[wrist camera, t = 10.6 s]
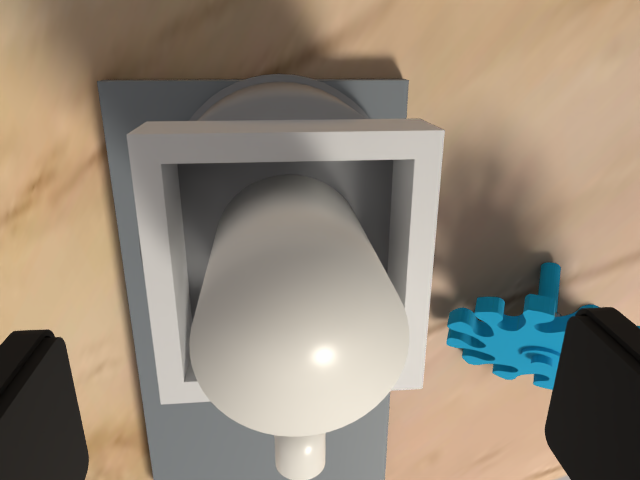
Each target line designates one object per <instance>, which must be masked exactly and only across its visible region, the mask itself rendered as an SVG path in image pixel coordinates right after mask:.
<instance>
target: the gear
mask: <svg viewBox="0 0 640 480" xmlns="http://www.w3.org/2000/svg"><path fill="white" fill-rule="evenodd" d="M560 271H561V267H560V266H559V265H558V264H556V263H551V262H548V263H543V264H542V265H541V272H540V281H539V290H538V295H535V294H528V295H527V296H526V297H525V302H524V310H523V313H522V314H521V315H519V316H508V315H504V306H505V301H504V300H503V299H501V298H500V297H478V298H477V302H476V307H475V313H474V312H473V311H471V310H469V309H467V308H457V309H455V310H453V311H451V312H450V314H449V319H448V324H447V326H448V328H449V332H448V338H447V345H449V346H451V347H455V348H463V354H462V357H463V359H464V360H465V361H466V362H467V363H469V364H473V365H481V364H493V372H492V373H494V374H495V375H497V376H499V377H502V378H504V379H507V380H512V379H515V378H516V377H517V376H519V375H524V374H534V382H533V384H534V385H536V386H539V387H543V388H547V389H552V390H553V387H554V382H555V377H556V372H557V368H558V363H559V358H560V353H561V349H562V344H563V339H564V334H565V329H566V325H567V322H568V320H569V318H570V317H572V316H575V314H576V312H577V311H578V310H580V309H581V308H600V307H598V306H596V305H584V306H582V307H580V308H579V309H578V310H577V311H576V312H574V313H572V314H569V315H566V316H561V315H560V314H559V313H557V307H558V295H559V283H560ZM475 316H476V317H477V318H478V319H480V320H482V321H484V322H481V321H479V320H477V319H476V317H475ZM637 327H639V328H640V326H637Z"/></svg>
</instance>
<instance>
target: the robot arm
mask: <svg viewBox="0 0 640 480" xmlns="http://www.w3.org/2000/svg"><path fill="white" fill-rule="evenodd" d="M545 436H546V440H547V443H548V445H549V447H550V449H551V451H552V452H553V454H554V455H555V457H556V458H557V460H558V461H559V463H560V464H561V466H562V467H563V469H564V470H565V472H566V473H567V475H568V476H569V477H570V479H571V480H640V328H639V327H637V326H636V325H635V324H634V323H632V322H631V321H630V320H629V319H627V318H626V317H625V316H624V315H623V314H621V313H620V312H619V311H618V310H616V309H614V308H612V307H602V308H581V309H580V310H578V311H577V312H576V314H575V316H572V317H570V318H569V320H568V322H567V325H566V329H565V334H564V339H563V344H562V349H561V353H560V358H559V363H558V368H557V372H556V377H555V382H554V387H553V391H552V396H551V401H550V406H549V410H548V415H547V420H546V425H545ZM88 463H89V456H88V450H87V445H86V440H85V435H84V431H83V426H82V421H81V416H80V411H79V407H78V402H77V397H76V392H75V388H74V383H73V378H72V373H71V368H70V364H69V359H68V354H67V349H66V345H65V342H64V340H63V338H61V337H55V336H54V334H53V332H52V331H50V330H25V331H13V332H12V333H11V334H10V335H9V336H8V337H7V338H6V339H5V341H4V342H3V343H2V344H1V345H0V480H85V477H86V474H87V470H88Z"/></svg>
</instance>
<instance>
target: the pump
mask: <svg viewBox="0 0 640 480" xmlns="http://www.w3.org/2000/svg"><path fill="white" fill-rule="evenodd" d="M189 347H190V359H191V364H192V368H193V371H194V374H195V377H196V379H197V381H198V383H199V385H200V387H201V389H202V390H203V392H204V393H205V395H206V396H207V397H208V399H209V400H210V401H211V402H212V403H213V404H214V405H215V406H216V407H217V408H218V409H219V410H220V411H221V412H223V413H224V414H225V415H226V416H227V417H229V418H231V419H232V420H234V421H236V422H237V423H239V424H241V425H243V426H245V427H248V428H250V429H253V430H256V431H259V432H262V433H266V434H271V435H274V437H275V463H276V468H277V470H278V472H279V473H280V474H281V475H282V476H284V477H285V478H288V479H290V480H309V479H312V478H314V477H316V476H317V475H319V474H320V473H321V472H322V470H323V469H324V466H325V436H326V432H330V431H333V430H336V429H339V428H342V427H344V426H346V425H348V424H350V423H353V422H354V421H356V420H358V419H359V418H361V417H363V416H364V415H366V414H367V413H368V412H370V411H371V410H372V409H374V408H375V407H376V406H377V405H378V404H379V403H380V402H381V401H382V400H383V399H384V398H385V397H386V396H387V394H388V393H389V392H390V391H391V389H392V388H393V387H394V385H395V383H396V382H397V380H398V378H399V377H400V374H401V372H402V370H403V368H404V365H405V361H406V358H407V355H408V348H409V325H408V319H407V315H406V312H405V309H404V306H403V304H402V302H401V299H400V297H399V295H398V293H397V292H396V290H395V288H394V286H393V284H392V282H391V280H390V279H389V277H388V275H387V273H386V271H385V269H384V267H383V265H382V264H381V262H380V260H379V258H378V256H377V254H376V252H375V251H374V249H373V247H372V245H371V243H370V241H369V239H368V238H367V236H366V234H365V232H364V230H363V228H362V226H361V225H360V223H359V221H358V219H357V217H356V215H355V213H354V211H353V210H352V208H351V207H350V205H349V204H348V202H347V201H346V200H345V199H344V198H343V196H342V195H341V194H339V193H338V192H337V191H336V190H335V189H334V188H332V187H330V186H329V185H327V184H326V183H323V182H321V181H319V180H317V179H314V178H311V177H307V176H302V175H290V174H287V175H277V176H272V177H268V178H265V179H262V180H259V181H257V182H255V183H253V184H251V185H249V186H248V187H246V188H245V189H244V190H242V191H241V192H240V193H239V194H238V195H236V196H235V197H234V198H233V200H232V201H231V202H230V203H229V204H228V206H227V207H226V209H225V211H224V212H223V214H222V216H221V219H220V221H219V224H218V227H217V231H216V235H215V239H214V243H213V246H212V250H211V254H210V258H209V262H208V265H207V269H206V273H205V277H204V281H203V285H202V288H201V292H200V296H199V300H198V304H197V308H196V311H195V315H194V319H193V323H192V327H191V333H190V340H189Z"/></svg>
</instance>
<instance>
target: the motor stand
mask: <svg viewBox="0 0 640 480" xmlns="http://www.w3.org/2000/svg"><path fill="white" fill-rule="evenodd" d="M408 84H409V80H406V79H311V78H308V77H303V76H298V75H291V74H268V75H261V76H256V77H251V78H247V79H228V80H101V81H97V85H98V92H99V99H100V106H101V113H102V120H103V127H104V134H105V141H106V148H107V155H108V162H109V169H110V176H111V183H112V190H113V197H114V204H115V211H116V219H117V226H118V233H119V240H120V247H121V254H122V261H123V268H124V275H125V282H126V289H127V296H128V303H129V310H130V317H131V324H132V331H133V338H134V345H135V352H136V359H137V366H138V373H139V380H140V387H141V395H142V402H143V409H144V416H145V423H146V430H147V437H148V444H149V451H150V458H151V465H152V472H153V479H154V480H290V479H288V478H285V477H284V476H282V475H281V474H280V473H279V472H278V470H277V468H276V463H275V437H274V435H271V434H266V433H262V432H259V431H256V430H253V429H250V428H248V427H245V426H243V425H241V424H239V423H237V422H236V421H234V420H232V419H231V418H229V417H227V416H226V415H225V414H224V413H223V412H221V411H220V410H219V409H218V408H217V407H216V406H215V405H214V404H213V403H212V402H211V401H210V400H209V399H208V397H207V396H206V395H205V393H204V392H203V390H202V389H201V387H200V385H199V383H198V381H197V379H196V377H195V374H194V371H193V368H192V364H191V359H190V347H189V340H190V333H191V327H192V323H193V319H194V315H195V311H196V308H197V304H198V300H199V296H200V292H201V288H202V285H203V281H204V277H205V273H206V269H207V265H208V262H209V258H210V254H211V250H212V246H213V243H214V239H215V235H216V231H217V227H218V224H219V221H220V219H221V216H222V214H223V212H224V211H225V209H226V207H227V206H228V204H229V203H230V202H231V201H232V200H233V198H234V197H235V196H236V195H238V194H239V193H240V192H241V191H242V190H244V189H245V188H246V187H248V186H249V185H251V184H253V183H255V182H257V181H259V180H262V179H265V178H268V177H272V176H277V175H287V174H290V175H302V176H307V177H311V178H314V179H317V180H319V181H321V182H323V183H326V184H327V185H329V186H330V187H332V188H334V189H335V190H336V191H337V192H338V193H339V194H341V195H342V196H343V198H344V199H345V200H346V201H347V202H348V204H349V205H350V207H351V208H352V210H353V211H354V213H355V215H356V217H357V219H358V221H359V223H360V225H361V226H362V228H363V230H364V232H365V234H366V236H367V238H368V239H369V241H370V243H371V245H372V247H373V249H374V251H375V252H376V254H377V256H378V258H379V260H380V262H381V264H382V265H383V267H384V269H385V271H386V273H387V275H388V277H389V279H390V280H391V282H392V284H393V286H394V288H395V290H396V292H397V293H398V295H399V297H400V299H401V302H402V304H403V306H404V309H405V312H406V315H407V319H408V325H409V348H408V355H407V358H406V361H405V365H404V368H403V370H402V372H401V374H400V377H399V378H398V380H397V382H396V383H395V385H394V387H393V388H392V389H391V391H393V390H409V389H423V378H424V367H425V355H426V343H427V332H428V320H429V308H430V297H431V285H432V273H433V262H434V250H435V238H436V227H437V215H438V203H439V192H440V180H441V168H442V157H443V145H444V134H445V130H443V129H441V128H439V127H437V126H435V125H432V124H430V123H428V122H426V121H424V120H422V119H406V117H407V101H408ZM389 402H390V392H389V393H388V394H387V396H386V397H385V398H384V399H383V400H382V401H381V402H380V403H379V404H378V405H377V406H376V407H375V408H374V409H372V410H371V411H370V412H368V413H367V414H366V415H364V416H363V417H361V418H359V419H358V420H356V421H354V422H353V423H350V424H348V425H346V426H344V427H342V428H339V429H336V430H333V431H330V432H326V436H325V466H324V469H323V470H322V472H321V473H320V474H319V475H317V476H316V477H314V478H312V479H309V480H385V469H386V452H387V435H388V419H389Z"/></svg>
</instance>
